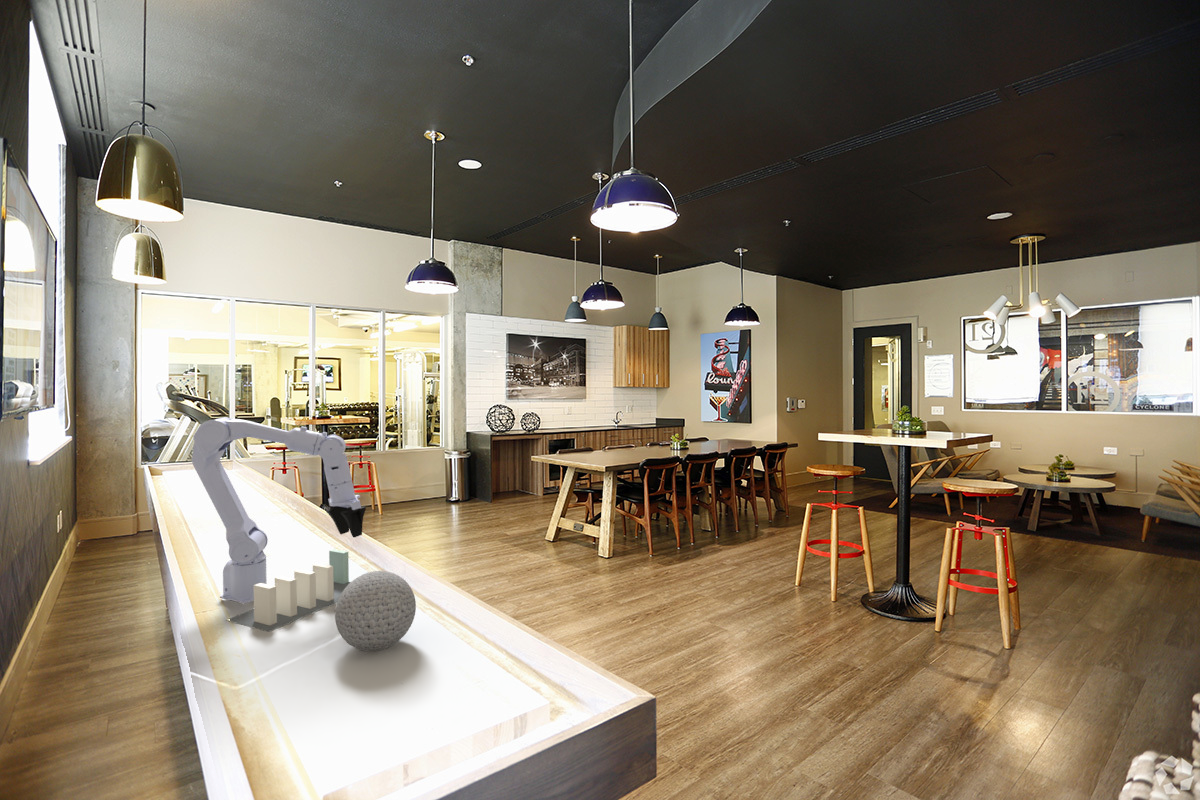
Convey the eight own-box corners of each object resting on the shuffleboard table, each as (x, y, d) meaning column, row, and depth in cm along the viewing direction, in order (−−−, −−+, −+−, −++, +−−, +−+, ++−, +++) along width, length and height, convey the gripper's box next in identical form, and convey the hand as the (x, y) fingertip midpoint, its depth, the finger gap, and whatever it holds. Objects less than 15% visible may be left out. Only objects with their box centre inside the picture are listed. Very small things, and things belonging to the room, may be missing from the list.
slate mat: (224, 621, 129) (224, 619, 129) (333, 580, 156) (333, 578, 156) (268, 633, 124) (268, 631, 124) (373, 588, 150) (373, 586, 150)
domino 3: (310, 608, 136) (309, 574, 135) (294, 605, 138) (294, 571, 137) (316, 606, 137) (315, 572, 137) (300, 602, 139) (300, 569, 139)
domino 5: (343, 584, 152) (343, 553, 152) (329, 581, 154) (329, 550, 154) (348, 582, 153) (348, 551, 153) (334, 579, 155) (334, 549, 155)
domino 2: (290, 616, 131) (290, 581, 131) (275, 613, 133) (274, 578, 133) (297, 614, 133) (296, 579, 132) (281, 610, 135) (281, 575, 134)
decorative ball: (338, 672, 108) (337, 591, 107) (333, 639, 121) (332, 567, 120) (422, 654, 115) (422, 578, 114) (409, 625, 128) (408, 557, 127)
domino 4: (328, 601, 140) (327, 568, 140) (313, 597, 142) (312, 565, 142) (333, 599, 142) (333, 566, 141) (318, 595, 144) (318, 563, 143)
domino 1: (269, 625, 127) (269, 588, 126) (254, 621, 129) (253, 585, 128) (276, 622, 128) (276, 586, 128) (261, 618, 130) (260, 582, 130)
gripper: (367, 479, 147) (378, 531, 148) (343, 477, 157) (353, 526, 158) (339, 487, 142) (351, 541, 143) (316, 484, 152) (327, 535, 153)
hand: (351, 534), depth 150 cm, fingers open, 7 cm apart
